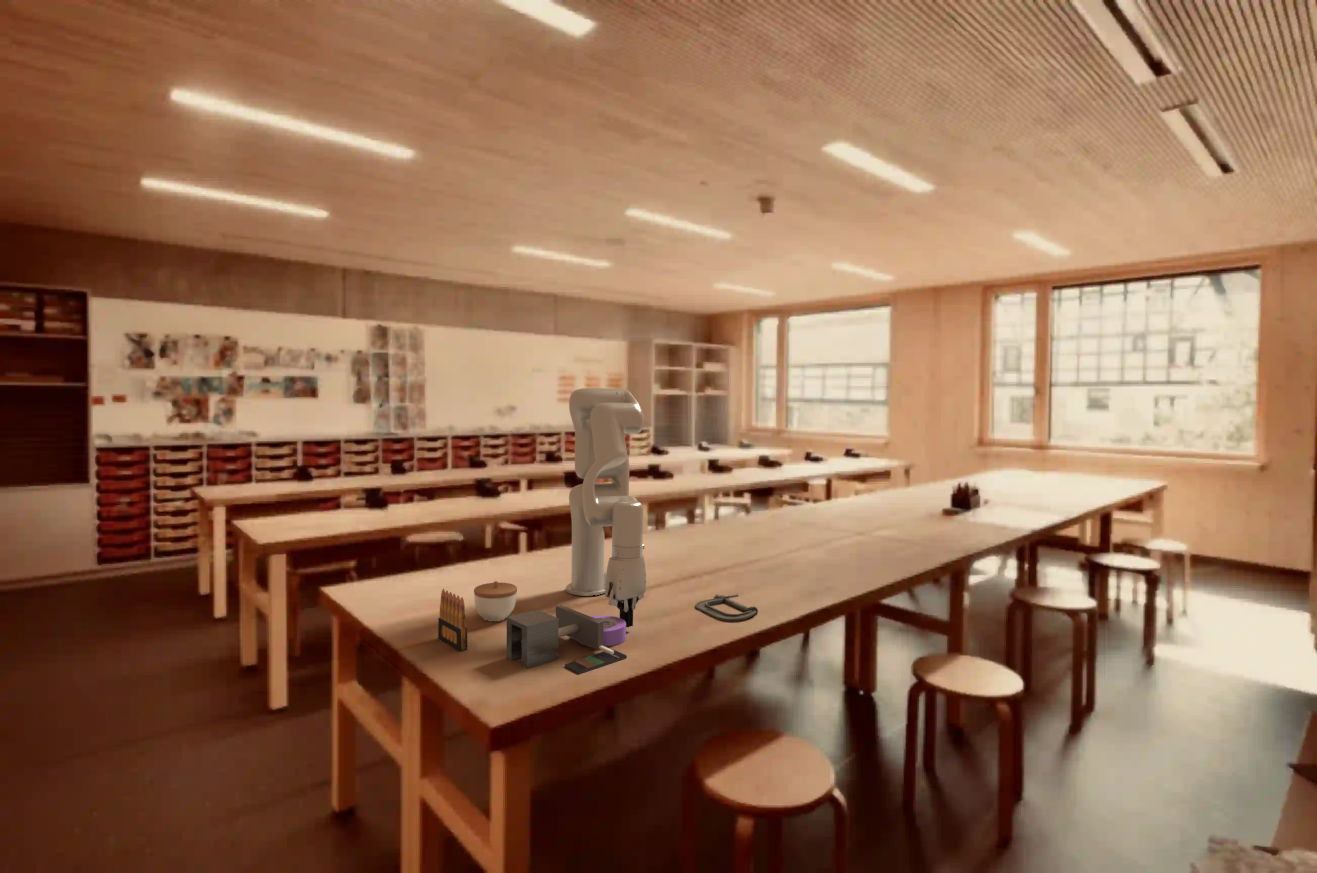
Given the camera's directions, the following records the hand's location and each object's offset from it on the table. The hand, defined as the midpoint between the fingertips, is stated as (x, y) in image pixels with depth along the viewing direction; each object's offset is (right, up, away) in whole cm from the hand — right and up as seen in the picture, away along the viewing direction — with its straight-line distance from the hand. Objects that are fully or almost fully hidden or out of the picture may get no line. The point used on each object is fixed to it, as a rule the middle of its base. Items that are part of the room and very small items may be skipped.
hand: (626, 625), depth 166 cm
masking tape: (-6, -2, -5) cm, 8 cm away
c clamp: (+27, -2, +19) cm, 33 cm away
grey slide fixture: (-12, -2, -18) cm, 22 cm away
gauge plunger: (-14, -1, -16) cm, 21 cm away
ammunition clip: (-39, -2, -11) cm, 41 cm away
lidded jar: (-34, 0, +8) cm, 35 cm away
